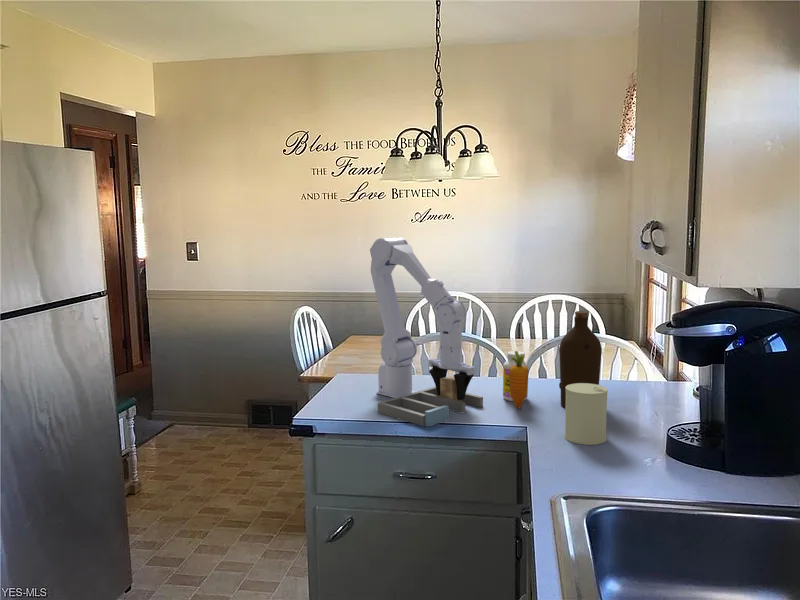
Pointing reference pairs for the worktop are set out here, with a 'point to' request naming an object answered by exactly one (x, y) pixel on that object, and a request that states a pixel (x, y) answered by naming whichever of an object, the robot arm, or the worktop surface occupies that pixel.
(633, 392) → the worktop surface
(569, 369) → the olive oil
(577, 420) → the can
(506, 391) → the supplement bottle
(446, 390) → the tan rectangular block
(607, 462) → the worktop surface
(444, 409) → the gray divided frame
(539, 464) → the worktop surface
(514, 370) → the carrot
